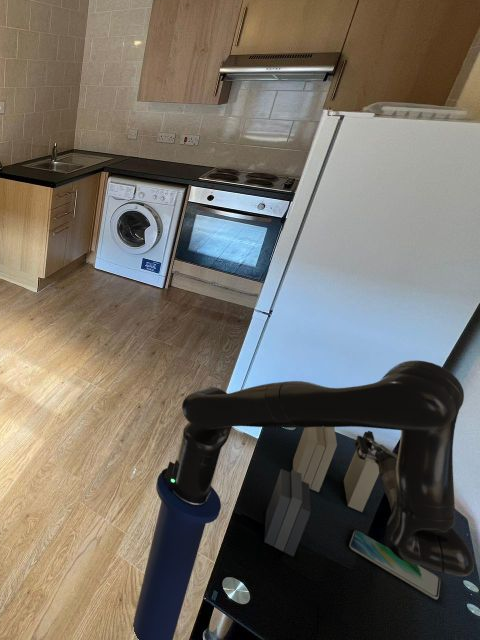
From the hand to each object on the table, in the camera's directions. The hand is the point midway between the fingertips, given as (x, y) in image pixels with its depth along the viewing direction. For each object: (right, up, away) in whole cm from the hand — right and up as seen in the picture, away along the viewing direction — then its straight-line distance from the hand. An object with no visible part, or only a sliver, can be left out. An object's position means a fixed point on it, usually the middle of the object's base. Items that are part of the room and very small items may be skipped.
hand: (392, 442), depth 99 cm
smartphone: (-2, -29, -2) cm, 29 cm away
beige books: (-2, -21, +23) cm, 31 cm away
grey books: (-24, -26, +5) cm, 36 cm away
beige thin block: (+6, -23, +16) cm, 29 cm away
